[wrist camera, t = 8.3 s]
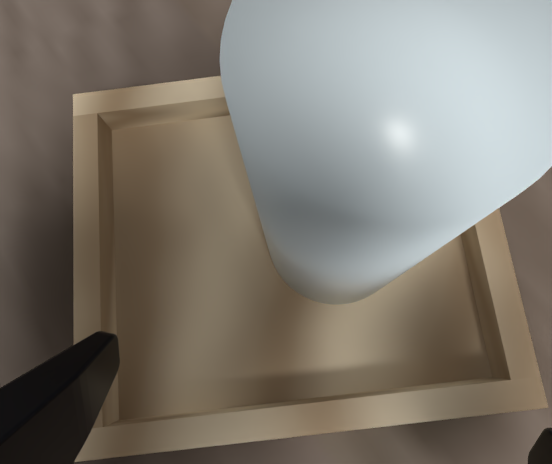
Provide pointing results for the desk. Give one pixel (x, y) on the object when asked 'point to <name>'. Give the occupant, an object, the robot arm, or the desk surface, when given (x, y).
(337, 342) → the tray
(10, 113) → the desk surface
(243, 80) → the white rounded cylinder
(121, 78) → the desk surface
